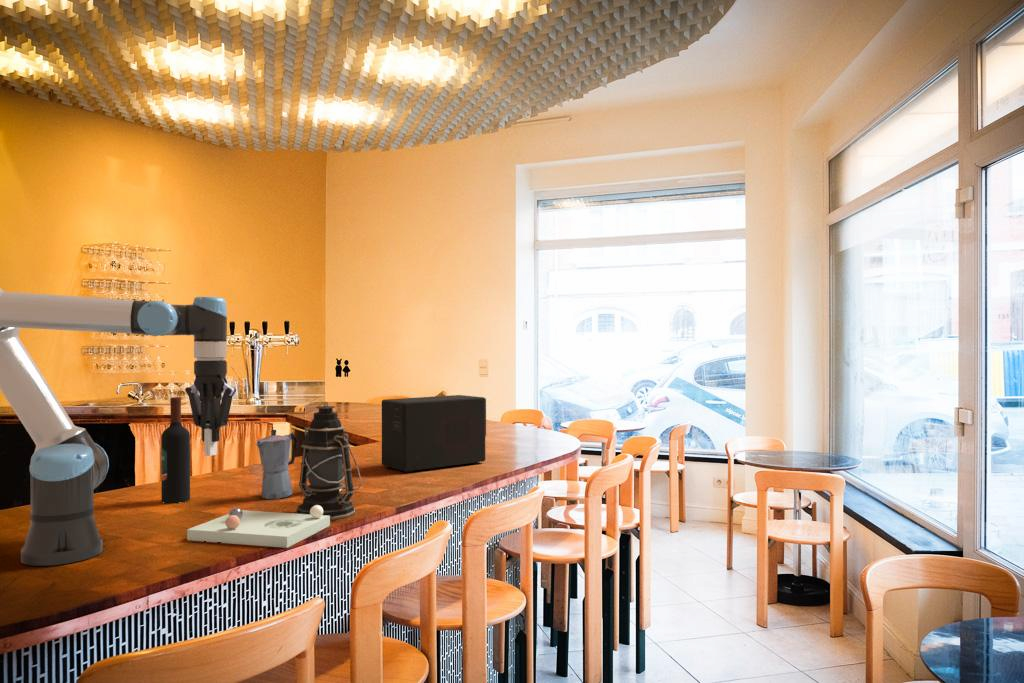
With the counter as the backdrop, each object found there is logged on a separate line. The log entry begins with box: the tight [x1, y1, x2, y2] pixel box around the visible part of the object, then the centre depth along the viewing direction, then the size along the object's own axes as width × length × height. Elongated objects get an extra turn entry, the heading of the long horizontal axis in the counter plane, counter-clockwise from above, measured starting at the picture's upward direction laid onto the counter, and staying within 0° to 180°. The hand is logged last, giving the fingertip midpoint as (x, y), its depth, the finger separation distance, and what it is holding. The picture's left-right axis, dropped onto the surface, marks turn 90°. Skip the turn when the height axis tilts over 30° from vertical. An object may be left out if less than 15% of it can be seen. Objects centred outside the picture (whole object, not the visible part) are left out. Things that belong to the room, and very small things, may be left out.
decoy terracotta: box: [225, 515, 240, 529], centre depth 171 cm, size 3×3×3 cm
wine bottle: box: [160, 396, 191, 504], centre depth 211 cm, size 8×8×30 cm
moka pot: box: [255, 429, 299, 500], centre depth 218 cm, size 10×15×20 cm, turn 152°
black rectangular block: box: [381, 394, 487, 474], centre depth 272 cm, size 38×20×25 cm, turn 129°
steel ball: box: [228, 506, 243, 519], centre depth 178 cm, size 3×3×3 cm
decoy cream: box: [310, 505, 323, 518], centre depth 181 cm, size 3×3×3 cm
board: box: [186, 509, 331, 549], centre depth 177 cm, size 20×26×2 cm
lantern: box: [295, 401, 363, 521], centre depth 196 cm, size 20×16×30 cm
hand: (210, 454), depth 180 cm, fingers closed
